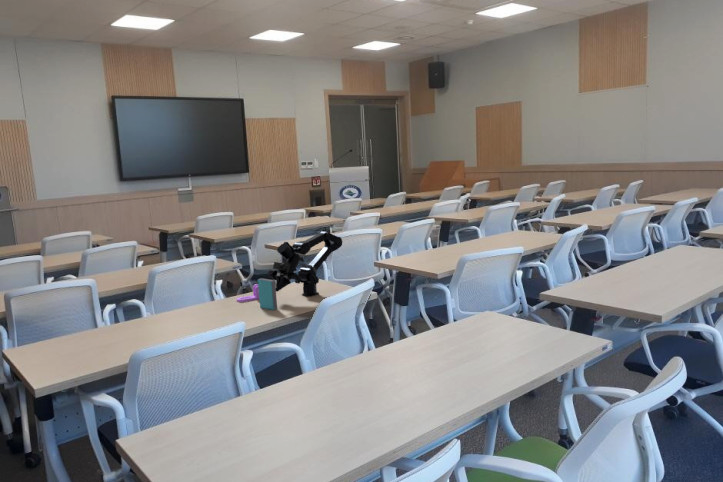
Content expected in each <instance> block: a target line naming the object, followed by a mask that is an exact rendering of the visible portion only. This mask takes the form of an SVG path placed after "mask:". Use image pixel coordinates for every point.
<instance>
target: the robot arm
mask: <svg viewBox="0 0 723 482" xmlns="http://www.w3.org/2000/svg"><path fill="white" fill-rule="evenodd" d="M322 242H323V243H324V245H323V246H324V247H322V249H321V250H320V251H319V252H318V254H317V255H316V256H315V257H314V258H313V259H312V261H310V263H309V264H302V266H301V267H300V268H299V269H297V267H298V265H299V263H300V262H302V263H304V262H305V261H304V257H303V256H301V255H306V254H307V253H309V252H310V251H311V250H312V248H313V247H315V246H317V245H319V244H320V243H322ZM342 246H343V239H342V237H340V236H337V235H335V234H332V233H331V232H329V231H325V230H323V231H320V232H319V233H317V234H315V235H313V236H311V237H309V238H307V239H306V240H300V241H296V242H294V243H293V244H292V245H291V244H290V243H289V242H288V241H284V242H283V243H281V244H280V245H279V246H278V247H277V249H276V251H277V253H278V254H279V255H280V256H281V257H282V258H284V260H286V261H283V262H279V261H274V263H273V266H272V269H269V270H268V272H267V275H269V277H271V278H272V280H275V281H276V282H275V287H276V293H277V292H279V291H281V290H282V289H284V288H286V286H288V285H291V284H292V280H294V282H295V284H299V285H300V284H302V285H303V286H302V291H303V292H302V294H301V296H306V297H312V296H316V295H319V294H320V292H317V284H318V283H319V281H320V278H319V277H318V276H317V271H318V269H319V268H320V267H321V266H322V265H323V263H324V262H325V261H326V260H327V258H328V257H330V255H331V254H332V253H333V252H334V251H337V250H339V248H341V247H342ZM297 270H299V271H298V272H297ZM296 272H297V273H296Z"/></svg>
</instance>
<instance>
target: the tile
mask: <svg viewBox="0 0 723 482" xmlns="http://www.w3.org/2000/svg"><path fill="white" fill-rule="evenodd" d="M257 284H258V289H259V299H258V300H259V307H260V308H262V309H265V310H266V309H267V310H271V311H276V310H278V301H277V299H278V298H277V292H276V280H274V279H267V278H258V279H257Z"/></svg>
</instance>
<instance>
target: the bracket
mask: <svg viewBox="0 0 723 482" xmlns="http://www.w3.org/2000/svg"><path fill="white" fill-rule="evenodd" d="M252 293H253V294H252V295H251V294H250V295H247V296H241V297H237V298H236V302H237V303H246V302H251V301H258V300H259V289H258V283H255V284H254V285H253V286H252Z"/></svg>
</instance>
